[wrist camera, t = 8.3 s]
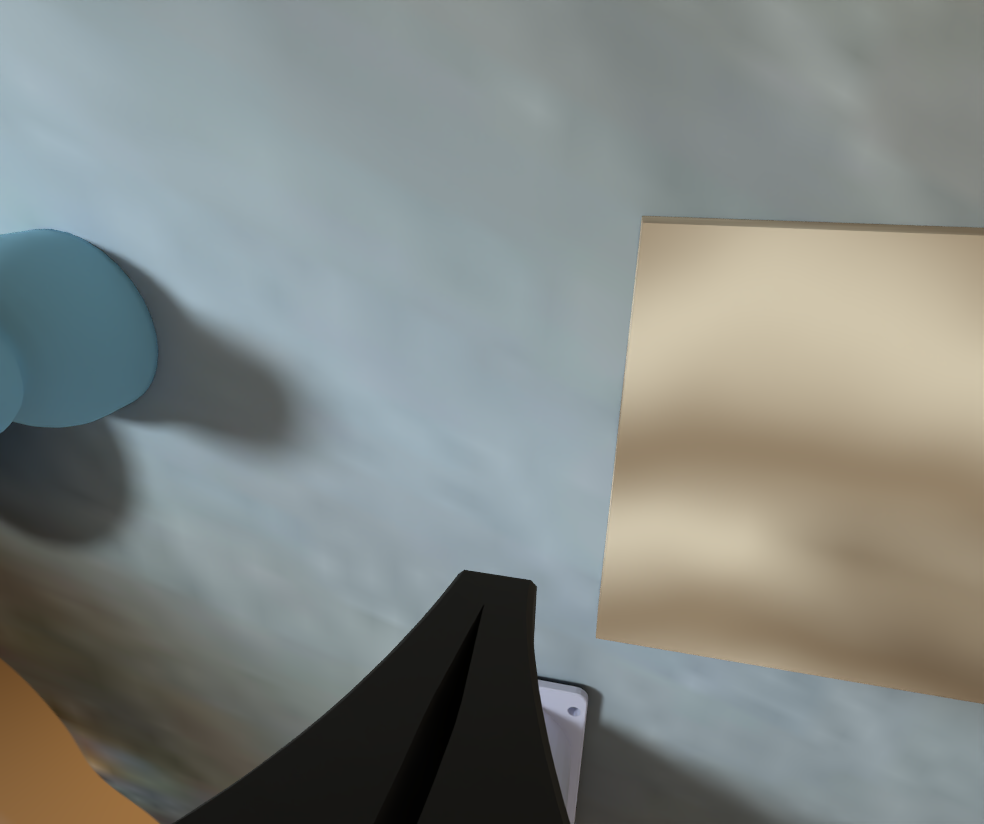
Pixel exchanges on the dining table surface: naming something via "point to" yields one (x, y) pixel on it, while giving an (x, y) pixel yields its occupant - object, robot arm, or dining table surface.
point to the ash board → (804, 451)
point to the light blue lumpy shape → (68, 332)
